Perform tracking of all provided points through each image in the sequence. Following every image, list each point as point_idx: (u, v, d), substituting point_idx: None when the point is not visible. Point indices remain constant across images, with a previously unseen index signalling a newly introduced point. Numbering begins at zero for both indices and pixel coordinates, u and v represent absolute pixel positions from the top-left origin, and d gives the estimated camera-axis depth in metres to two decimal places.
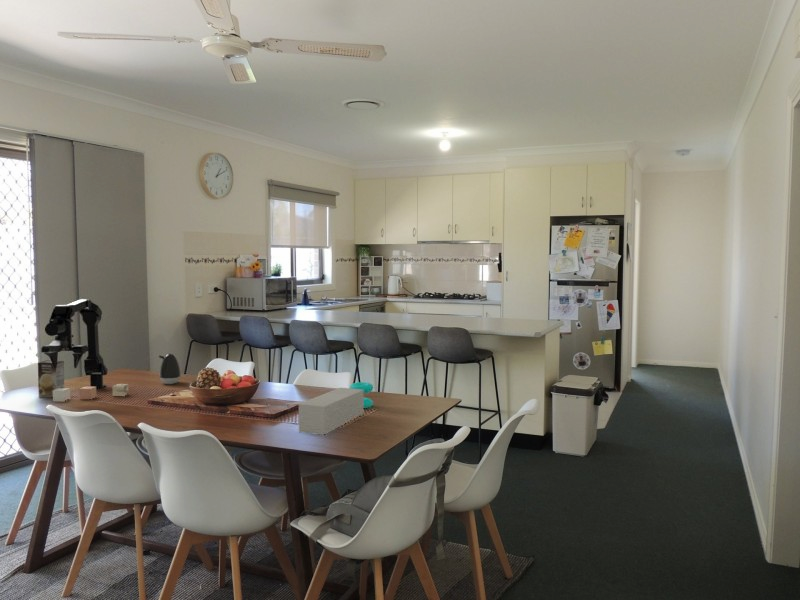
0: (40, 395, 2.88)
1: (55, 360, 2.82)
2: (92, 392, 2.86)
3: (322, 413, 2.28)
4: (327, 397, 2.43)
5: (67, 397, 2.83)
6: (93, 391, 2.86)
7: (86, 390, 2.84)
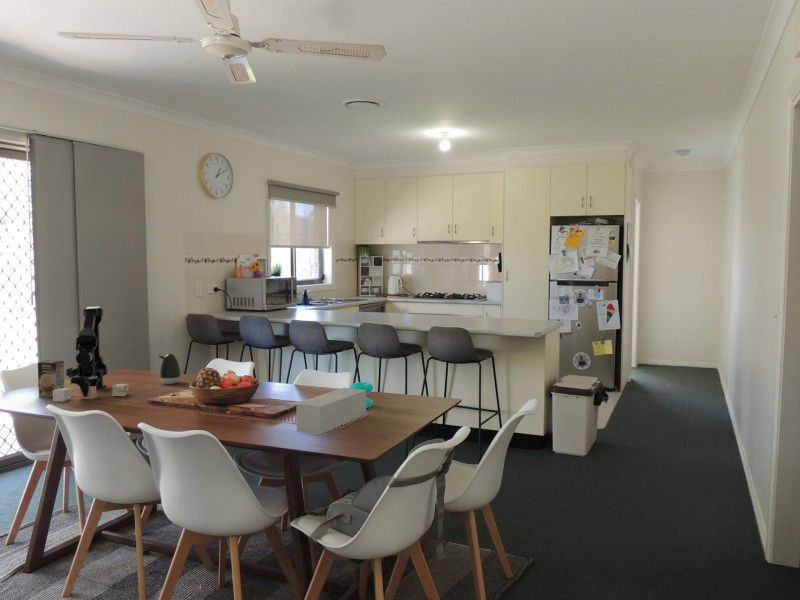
0: (40, 395, 2.88)
1: None
2: (92, 392, 2.86)
3: (318, 413, 2.29)
4: (327, 397, 2.43)
5: (67, 397, 2.83)
6: (93, 391, 2.86)
7: None
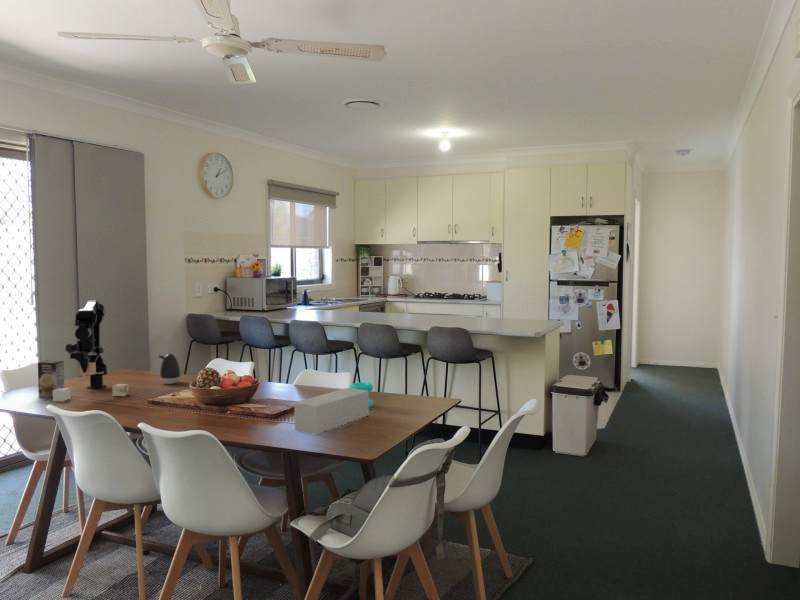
0: (40, 395, 2.88)
1: None
2: (91, 367, 2.87)
3: (314, 413, 2.29)
4: (327, 397, 2.43)
5: (67, 397, 2.83)
6: (92, 367, 2.88)
7: None
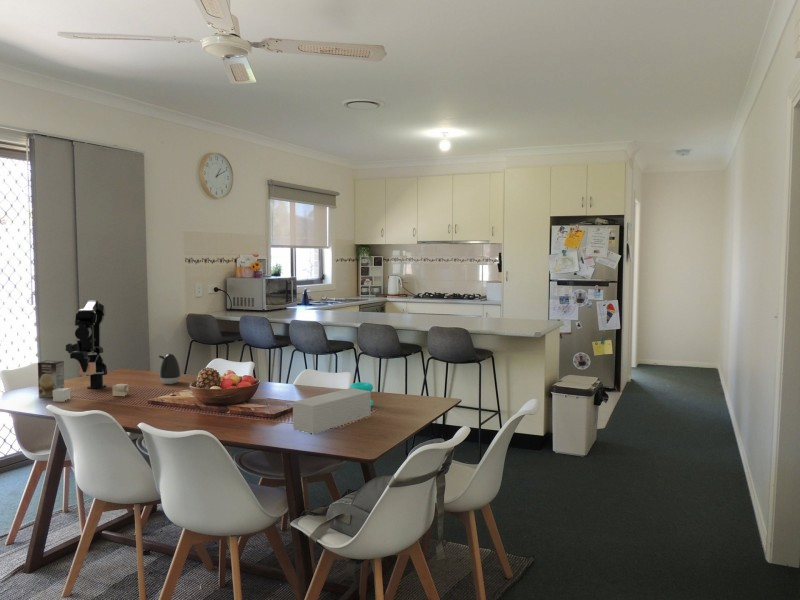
0: (40, 395, 2.88)
1: None
2: (91, 367, 2.87)
3: (311, 412, 2.29)
4: (326, 397, 2.43)
5: (67, 397, 2.83)
6: (92, 367, 2.88)
7: None
